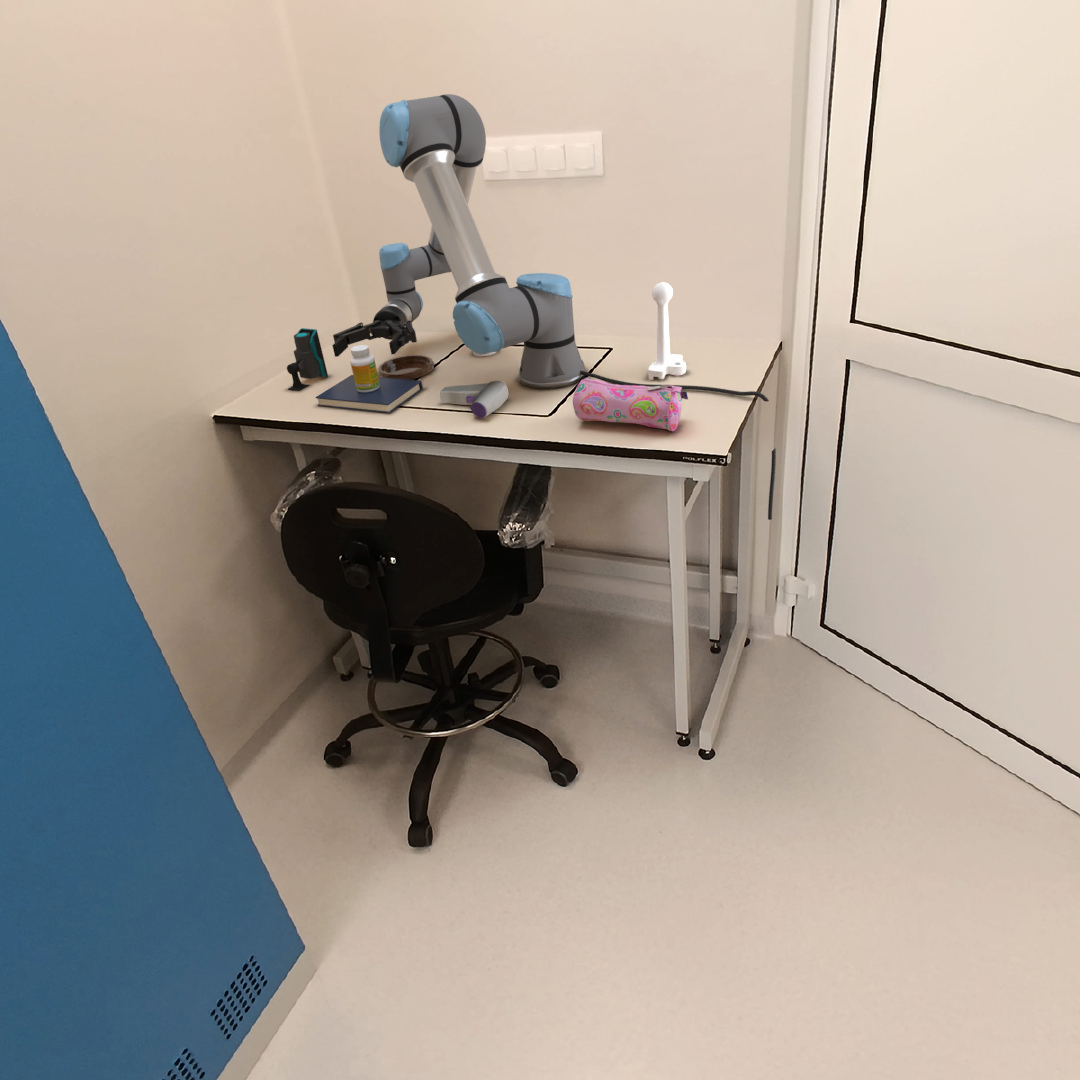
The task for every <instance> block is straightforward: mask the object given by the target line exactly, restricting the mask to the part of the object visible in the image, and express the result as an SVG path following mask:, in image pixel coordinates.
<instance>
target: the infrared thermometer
mask: <svg viewBox="0 0 1080 1080" xmlns="http://www.w3.org/2000/svg"><path fill="white" fill-rule="evenodd" d="M439 398H440V403H441V404H453V405H461V406H463V405H465V406H467V405H468V406H470V410H471V413H472V414H473V415H474V416H475V417H477V418H479V419H485V418H486V417H488V416H489V415H491V414H492V413H493V412H495V411H496V410H498V409H499V408H501V406H503V405H504V403H505V402H506V401H507V400H508V399H509V389H508V386H507V384H506V382H504V381H502V380H493V381H490V382H486V383H485V382H484V383H475V384H461V385H450V386H444V387H443V388H442V389H441V390H440V391H439Z"/></svg>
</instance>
